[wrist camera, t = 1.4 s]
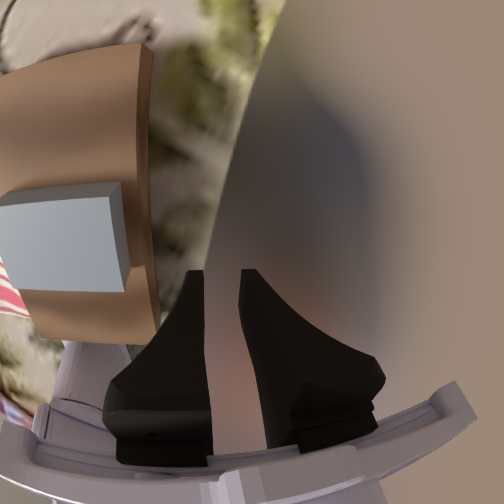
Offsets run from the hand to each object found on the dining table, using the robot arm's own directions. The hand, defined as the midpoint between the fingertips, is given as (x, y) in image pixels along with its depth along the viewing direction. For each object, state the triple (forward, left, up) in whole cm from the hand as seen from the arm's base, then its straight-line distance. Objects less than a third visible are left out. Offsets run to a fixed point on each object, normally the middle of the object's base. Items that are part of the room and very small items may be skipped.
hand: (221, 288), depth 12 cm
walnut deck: (0, +11, -10) cm, 14 cm away
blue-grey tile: (0, +10, -6) cm, 12 cm away
